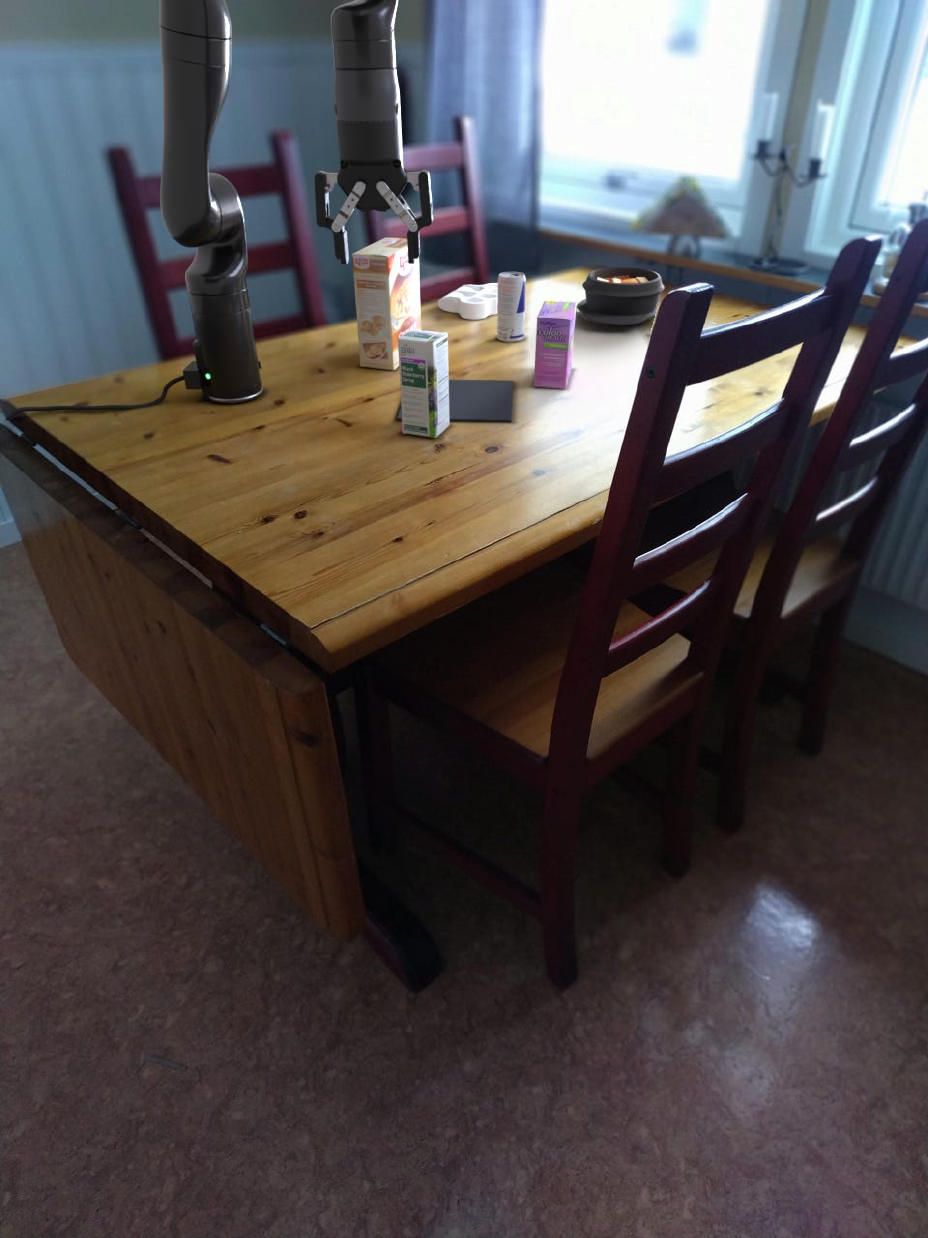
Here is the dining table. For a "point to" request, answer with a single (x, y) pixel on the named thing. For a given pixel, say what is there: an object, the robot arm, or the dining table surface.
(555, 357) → the box
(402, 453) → the dining table surface
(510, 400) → the mat
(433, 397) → the syrup box
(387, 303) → the coffeecake box
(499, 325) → the energy drink
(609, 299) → the casserole
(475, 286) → the white cupped tray
